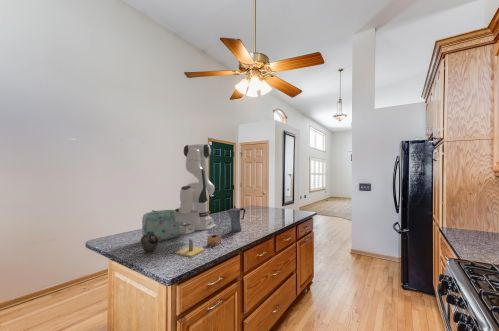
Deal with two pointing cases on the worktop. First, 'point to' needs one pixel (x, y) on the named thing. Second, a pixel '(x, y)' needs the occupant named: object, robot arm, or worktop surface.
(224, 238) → the worktop surface
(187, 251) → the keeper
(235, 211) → the moka pot
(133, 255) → the worktop surface
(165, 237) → the lunch box
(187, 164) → the robot arm
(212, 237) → the brown rounded piece
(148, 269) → the worktop surface
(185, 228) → the link
